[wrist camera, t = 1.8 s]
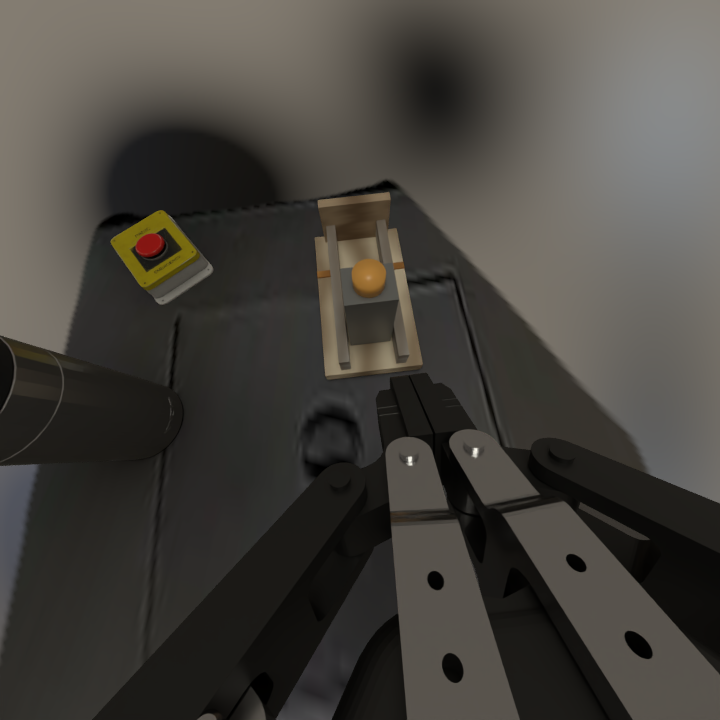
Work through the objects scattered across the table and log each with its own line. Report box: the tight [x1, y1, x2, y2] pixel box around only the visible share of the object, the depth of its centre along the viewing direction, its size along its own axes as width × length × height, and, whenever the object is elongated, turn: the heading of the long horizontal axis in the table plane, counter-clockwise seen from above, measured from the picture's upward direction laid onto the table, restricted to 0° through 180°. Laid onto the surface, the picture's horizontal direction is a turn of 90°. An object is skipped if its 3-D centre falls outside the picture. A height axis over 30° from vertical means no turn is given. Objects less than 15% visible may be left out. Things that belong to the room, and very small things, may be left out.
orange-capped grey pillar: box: [340, 259, 399, 345], centre depth 29 cm, size 5×4×12 cm
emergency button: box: [111, 211, 213, 305], centre depth 40 cm, size 9×4×15 cm
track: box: [315, 192, 423, 380], centre depth 35 cm, size 12×21×8 cm, turn 6°
